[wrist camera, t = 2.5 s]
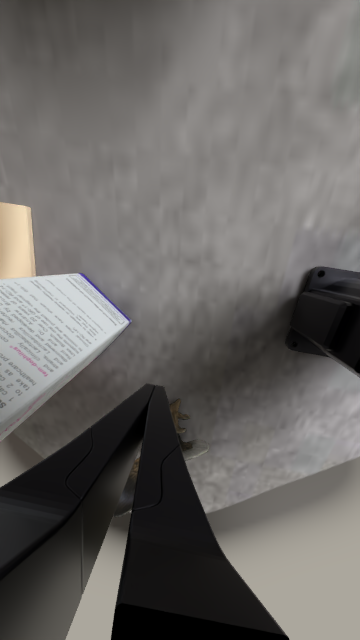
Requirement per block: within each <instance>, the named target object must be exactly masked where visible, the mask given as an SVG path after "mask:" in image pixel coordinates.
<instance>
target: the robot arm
mask: <svg viewBox="0 0 360 640" xmlns="http://www.w3.org/2000/svg"><path fill="white" fill-rule="evenodd" d="M319 271H321V272H322V273H321V276H319V277H318V276H317V274H318V272H319ZM290 326H291V328H290V331H289V333H288V336H287V339H286V342H285V344H286V346H287V347H288V348H289V349H290V350H294V351H299V352H305V353H310V354H316V355H321V356H327V357H331V358H332V359H334V360H335V361H337V362H338V363H340V364H341V365H342V366H344V367H345V368H347V369H348V370H350V371H351V372H352V373H354V374H355V375H357V376H358V377H360V273H359V272H353V271H347V270H341V269H335V268H329V267H315V268H314V269H313V270H312V271H311V273H310V276H309V279H308V281H307V284H306V287H305V290H304V292H303V293H302V294H301V295H300V298H299V301H298V303H297V306H296V309H295V312H294V314H293V317H292V320H291V323H290ZM292 342H295V344H294V345H291V343H292ZM142 440H143V442H142ZM141 443H142V448H141V455H140V461H139V468H138V474H137V480H136V487H135V493H134V500H133V506H132V513H131V519H130V525H129V532H128V537H127V544H126V549H125V555H124V561H123V566H122V572H121V578H120V584H119V589H118V595H117V601H116V607H115V613H114V620H113V627H112V635H111V640H289V638H288V636H287V635H286V634H285V632H284V631H283V630H282V629H281V627H280V626H279V625H278V624H277V622H276V621H275V620H274V618H273V617H272V616H271V615H270V613H269V612H268V611H267V610H266V608H265V607H264V606H263V604H262V603H261V602H260V600H258V598H257V597H256V595H255V594H254V593H253V592H252V590H251V589H250V588H249V586H248V585H247V584H246V583H245V581H244V580H243V579H242V577H241V576H240V575H239V574H238V572H237V571H236V570H235V568H234V567H233V566H232V565H231V563H230V562H229V561H228V559H227V558H226V556H225V555H224V553H223V551H222V550H221V548H220V546H219V544H218V542H217V540H216V538H215V536H214V533H213V531H212V529H211V526H210V524H209V521H208V519H207V517H206V514H205V512H204V509H203V507H202V504H201V502H200V500H199V497H198V495H197V492H196V490H195V487H194V485H193V482H192V480H191V477H190V474H189V472H188V469H187V466H186V463H185V460H184V456H183V453H182V449H181V446H180V442H179V439H178V435H177V431H176V428H175V424H174V421H173V417H172V413H171V410H170V406H169V402H168V399H167V395H166V392H165V388H164V387H163V386H158V385H156V386H155V385H153V384H145V385H144V386H143V387H142V388H140V389H139V390H138V391H136V392H135V393H134V394H133V395H131V396H130V397H129V398H127V399H126V400H125V401H123V402H122V403H121V404H120V405H118V406H117V407H116V408H114V409H113V410H112V411H110V412H109V413H108V414H107V415H105V416H104V417H103V418H101V419H100V420H99V421H98V422H96V423H95V424H94V425H92V426H91V428H88V429H87V430H86V431H84V432H83V433H82V434H81V435H79V436H78V437H76V438H75V439H74V440H72V441H71V442H70V443H68V444H67V445H65V446H64V447H62V448H61V449H59V450H58V451H56V452H55V453H53V454H52V455H50V456H49V457H47V458H46V459H44V460H43V461H41V462H40V463H38V464H37V465H35V466H33V467H32V468H31V469H29V470H27V471H26V472H24V473H22V474H21V475H20V476H18V477H16V478H15V479H13V480H12V481H10V482H8V483H7V484H5V485H4V486H2V487H0V640H65V639H66V636H67V634H68V631H69V628H70V626H71V623H72V621H73V618H74V616H75V613H76V611H77V608H78V605H79V603H80V600H81V597H82V594H83V592H84V590H85V587H86V585H87V582H88V579H89V577H90V574H91V572H92V569H93V566H94V564H95V561H96V559H97V556H98V553H99V551H100V549H101V546H102V543H103V541H104V538H105V536H106V533H107V530H108V528H109V525H110V522H111V520H112V518H113V515H114V512H115V510H116V507H117V505H118V502H119V500H120V497H121V494H122V492H123V489H124V487H125V484H126V482H127V479H128V476H129V474H130V471H131V469H132V466H133V464H134V461H135V458H136V456H137V453H138V451H139V448H140V445H141Z"/></svg>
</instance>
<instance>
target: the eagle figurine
mask: <svg viewBox="0 0 360 640" xmlns="http://www.w3.org/2000/svg"><path fill="white" fill-rule="evenodd" d="M180 402H181V400H180V399H178V400H177V401H176V402H175V403H174V404H171V405H170V410H171V413H172V417H173V421H174V424H175V428H176V431H177V435H178V439H179V442H180V446H181V449H182V453H183V456H184V460H185V461H187V460H189V459H193V458H195V457H197V456H200V455H202V454H204V453H206V452H208V451H209V449H208V448H209V444H207V443H206V442H205V441H203V440H194V441H190V442H187V443H186V442H183V441H182V440H181V438H180V435H179V433H184V432H186V429H185V428H181V427H179V425H178V418H180V419H183V420H187V419H190V416H189V415H187V414H185V415H182V414H181V413H179V412H178V409H179V405H180ZM139 461H140V458H138V459H136V460H135V461H134V464H133V466H132V469H131V471H130V474H129V476H128V479H127V482H126V484H125V487H124V489H123V492H122V494H121V497H120V500H119V502H118V505H117V507H116V510H115V512H114V515H113V516H114V517H116V516H118V517H120V516H123V515H124V514H127V513H128V512H129V511H131V510H132V506H133V500H134V493H135V487H136V480H137V474H138V468H139Z"/></svg>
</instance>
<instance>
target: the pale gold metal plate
mask: <svg viewBox="0 0 360 640" xmlns="http://www.w3.org/2000/svg"><path fill="white" fill-rule="evenodd" d="M35 276H36V272H35V259H34V245H33V232H32V218H31V208H29V207H26V206H20V205H14V204H8V203H2V202H0V279H10V278H22V277H35Z"/></svg>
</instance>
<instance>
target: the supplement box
mask: <svg viewBox="0 0 360 640" xmlns="http://www.w3.org/2000/svg"><path fill="white" fill-rule="evenodd" d="M131 322H132V320H131V319H130V318H129V317H128V316H127V315H126V314H125V313H124V312H123V311H122V310H121V309H119V308H118V307H117V306H116V305H115V304H114V303H113V302H112V301H111V300H110V299H109V298H108V297H107V296H106V295H105V294H104V293H103V292H102V291H101V290H100V289H99V288H98V287H97V286H96V285H95V284H93V283H92V282H91V281H90V280H89V279H88V278H87V277H86V276H85V275H84V274H82V273H76V274H62V275H49V276H35V277H22V278H10V279H0V442H1V441H2V440H3V439H4V438H5V437H7V436H8V435H9V434H10V433H11V432H12V431H13V430H15V429H16V428H17V427H18V426H19V425H20V424H21V423H23V422H24V421H25V420H26V419H27V418H28V417H29V416H30V415H32V414H33V413H34V412H35V411H36V410H37V409H38V408H39V407H41V406H42V405H43V404H44V403H45V402H46V401H47V400H48V399H50V398H51V397H52V396H53V395H54V394H55V393H56V392H58V391H59V390H60V389H61V388H62V387H63V386H65V385H66V384H67V383H68V382H69V381H70V380H72V379H73V378H74V377H75V376H76V375H77V374H78V373H79V372H81V371H82V370H83V369H84V368H85V367H86V366H87V365H89V364H90V363H91V362H92V361H93V360H94V359H96V358H97V357H98V356H99V355H100V354H101V353H102V352H103V351H104V350H105V349H106V348H107V347H108V346H109V345H110V344H111V343H112V342H113V341H114V340H115V339H116V338H117V337H118V336H119V335H120V334H121V333H122V332H123V331H124V330H125V329H126V327H127V326H128V325H129V324H130V323H131Z"/></svg>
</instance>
